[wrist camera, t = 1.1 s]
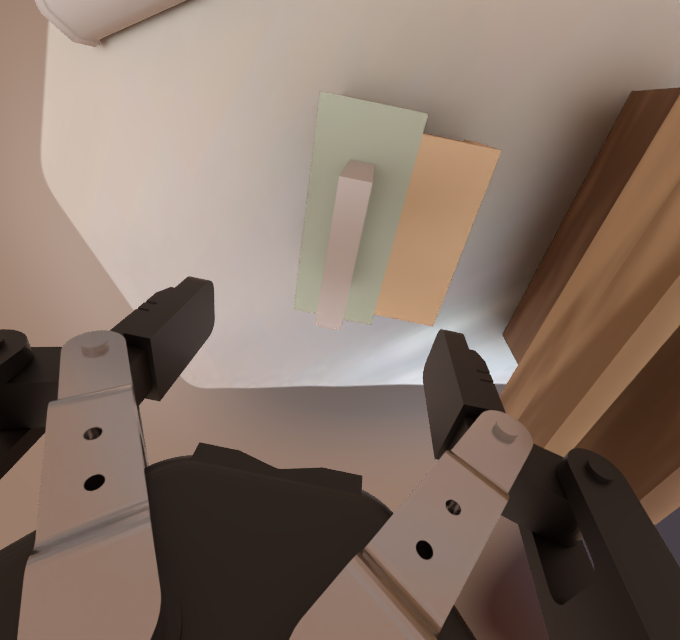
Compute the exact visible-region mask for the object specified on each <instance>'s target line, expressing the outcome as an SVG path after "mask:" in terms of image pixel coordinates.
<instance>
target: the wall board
mask: <svg viewBox="0 0 680 640" xmlns="http://www.w3.org/2000/svg"><path fill="white" fill-rule="evenodd" d="M503 337H504V339H505V341H506V343H507V344H508V346H509V348H510V350H511V352H512V354H513V356H514V358H515V360H516V361H517V363H518V366H517V368H516V370H515V371H514V373H513V375H512V376H511V378H510V380H509V381H508V383H507V385H506V387H505V388H504V390H503V392H502V393H501V395H500V396H499V397H500V399H501V402H502V404H503V407H504V409H505V412H506V414H508V415H510V416H512V417H514V418H515V419H517V420H518V421H519V422H520V423H522V424H523V425H524V426H525V427H526V429H527V430H528V431H529V433H530V435H531V437H532V440H533V443H534V444H536V445H538V446H540V447H542V448H544V449H546V450H549V451H551V452H553V453H555V454H558V455H560V456H562V457H565V456H566V454H567V453H568V452H569V451H570V450H571V449H574V448H583V449H587V450H590V451H593V452H595V453H597V454H599V455H601V456H602V457H604V458H605V459H607V460H608V461H610V462H611V463H612V464H613V465H614V466H616V467H617V468H618V469H619V471H620V472H621V473H622V474H623V475H624V477H625V478H626V480H627V481H628V483H629V484H630V486H631V488H632V489H633V491H634V493H635V494H636V496H637V498H638V499H639V501H640V503H641V504H642V506H643V508H644V509H645V511H646V513H647V514H648V516H649V518H650V519H651V521H652V523H653V524H654V525H656V524H657V523H658V522H660V521H661V520H662V519H664V518H665V517H666V516H668V515H669V514H670V513H672V512H673V511H674V510H675V509H677V508H678V507H679V506H680V88H669V89H655V90H642V91H632V92H631V94H630V96H629V98H628V100H627V102H626V104H625V105H624V107H623V109H622V111H621V113H620V115H619V117H618V119H617V120H616V122H615V124H614V126H613V128H612V130H611V132H610V134H609V135H608V137H607V139H606V141H605V143H604V145H603V147H602V149H601V151H600V152H599V154H598V156H597V158H596V160H595V162H594V164H593V166H592V167H591V169H590V171H589V173H588V175H587V177H586V179H585V181H584V182H583V184H582V186H581V188H580V190H579V192H578V194H577V196H576V198H575V199H574V201H573V203H572V205H571V207H570V209H569V211H568V213H567V214H566V216H565V218H564V220H563V222H562V224H561V226H560V228H559V229H558V231H557V233H556V235H555V237H554V239H553V241H552V243H551V245H550V246H549V248H548V250H547V252H546V254H545V256H544V258H543V260H542V261H541V263H540V265H539V267H538V269H537V271H536V273H535V275H534V276H533V278H532V280H531V282H530V284H529V286H528V288H527V290H526V292H525V293H524V295H523V297H522V299H521V301H520V303H519V305H518V307H517V308H516V310H515V312H514V314H513V316H512V318H511V320H510V322H509V323H508V325H507V327H506V329H505V331H504V333H503Z"/></svg>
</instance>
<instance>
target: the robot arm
mask: <svg viewBox="0 0 680 640" xmlns="http://www.w3.org/2000/svg"><path fill="white" fill-rule="evenodd" d="M214 320H215V315H214V286H213V283H212V281H209V280H204V279H199V278H195V277H187V278H186V279H185V280H183V281H182V282H181V283H180V284H179V285H178V286H177V287H175V288H173V287H170V288H167V289H164V290H162V291H159V292H157V293H155V294H154V295H153V296H152V297H150V298H149V299H148V300H147V301H146V303H145V302H144V303H143V304H142V305H141V306H139V307H138V309H136V310H134V311H133V312H132V313H131V314H130V315H128V316H127V317H126V318H125V319H123V320H122V321H121V322H120V323H118V324H117V325H116V326H115V327H114V328H112V329H111V330H110V331H92V332H87V333H83V334H81V335H78V336H76V337H74V338H72V339H70V340H69V341H67V342H66V343H65V344H64V345H63V347H30V344H29V342H28V339H27V337H26V335H25V334H23V333H22V332H19V331H15V330H3V329H2V330H0V479H1V478H2V477H3V476H4V475H5V474H6V473H7V472H8V471H9V470H10V469H11V468H12V467H13V466H14V465H15V464H16V462H17V461H18V460H19V459H20V458H21V457H22V456H23V455H24V454H25V453H26V452H27V451H28V450H29V449H30V448H31V447H32V446H33V445H34V444H35V443H36V442H37V440H38V439H39V438H40V437H41V436H42V435H43V434H44V433H45V442H44V443H45V444H44V452H43V453H44V454H43V463H42V475H41V485H40V497H39V507H38V517H37V529H36V530H35V531H33V532H31V533H30V534H28V535H26V536H24V537H23V538H21V539H19V540H17V541H16V542H14V543H12V544H10V545H9V546H7V547H5V548H4V549H2V550H0V640H477V639H476V638H475V636H474V635H473V633H472V632H471V630H470V629H469V627H468V626H467V624H466V622H465V621H464V619H463V618H462V616H461V615H460V613H459V612H458V610H457V608H456V607H455V605H454V603H455V601H456V599H457V597H458V595H459V593H460V592H461V590H462V588H463V586H464V584H465V582H466V580H467V578H468V576H469V574H470V573H471V571H472V569H473V567H474V565H475V563H476V561H477V559H478V557H479V555H480V553H481V552H482V550H483V548H484V546H485V544H486V542H487V540H488V538H489V536H490V534H491V532H492V530H493V529H494V527H495V525H496V523H497V521H498V519H499V517H500V515H502V516H504V517H506V518H508V519H509V520H511V521H513V522H515V523H517V524H518V525H519V529H520V533H521V536H522V540H523V544H524V547H525V551H526V555H527V558H528V562H529V566H530V569H531V573H532V577H533V580H534V584H535V587H536V591H537V595H538V599H539V602H540V605H541V610H542V613H543V617H544V620H545V624H546V628H547V632H548V635H549V639H550V640H680V568H679V566H678V564H677V562H676V561H675V559H674V557H673V556H672V554H671V553H670V551H669V549H668V548H667V546H666V544H665V543H664V541H663V539H662V538H661V536H660V534H659V533H658V531H657V529H656V528H655V526H654V524H653V523H652V521H651V519H650V518H649V516H648V514H647V513H646V511H645V509H644V508H643V506H642V504H641V503H640V501H639V499H638V498H637V496H636V494H635V493H634V491H633V489H632V488H631V486H630V484H629V483H628V481H627V480H626V478H625V477H624V475H623V474H622V473H621V472H620V471H619V469H618V468H617V467H616V466H614V465H613V464H612V463H611V462H610V461H608V460H607V459H605V458H604V457H602V456H601V455H599V454H597V453H595V452H593V451H590V450H587V449H583V448H574V449H571V450H570V451H569V452H568V453H567V454H566V456H565V457H562V456H560V455H558V454H555V453H553V452H551V451H549V450H546V449H544V448H542V447H540V446H538V445H536V444H534V443H533V440H532V437H531V435H530V433H529V431H528V430H527V429H526V427H525V426H524V425H523V424H522V423H520V422H519V421H518V420H517V419H515V418H514V417H512V416H510V415H508V414H506V412H505V409H504V407H503V404H502V402H501V399H500V397H499V394H498V392H497V390H496V387H495V385H494V384H493V380H492V377H491V375H489V373H490V372H489V370H488V367H487V365H486V362H485V361H484V360H483V359H482V358H481V356H480V355H479V354H478V353H477V352H476V351H474V350H469V348H468V345H467V342H466V340H465V337H464V335H463V334H462V333H457V332H452V331H447V330H443V329H441V330H440V331H439V332H438V334H437V336H436V338H435V341H434V343H433V346H432V348H431V351H430V353H429V356H428V358H427V361H426V363H425V366H424V371H423V384H424V391H425V397H426V404H427V410H428V417H429V424H430V430H431V437H432V444H433V450H434V457H435V459H438V461H437V463H436V464H435V465H434V466H433V467H432V469H431V470H430V471H429V472H428V473H427V474H426V476H425V477H424V478H423V479H422V480H421V482H420V483H419V484H418V485H417V486H416V488H415V489H414V490H413V491H412V492H411V494H410V495H409V496H408V497H407V498H406V500H405V501H404V502H403V503H402V504H401V505H400V507H399V508H398V509H397V510H396V511H395V513H393V512H392V511H391V510H390V509H389V508H388V507H387V506H386V505H385V504H383V503H382V502H381V501H380V500H378V499H377V498H375V497H374V496H372V495H371V494H369V493H368V492H366V491H364V490H362V476H361V475H356V474H351V473H346V472H341V471H336V470H331V469H327V468H301V469H300V468H299V469H277V468H274V467H272V466H270V465H268V464H266V463H264V462H262V461H260V460H258V459H256V458H254V457H252V456H250V455H247V454H246V453H243V452H241V451H239V450H234V449H229V448H224V447H219V446H214V445H209V444H205V443H199V445H198V446H197V448H196V450H195V452H194V454H193V455H188V456H180V457H175V458H171V459H166V460H163V461H160V462H158V463H155V464H152V465H150V466H149V463H148V457H147V452H146V445H145V439H144V433H143V427H142V421H141V414H140V408H139V405H140V404H141V402H142V401H143V400H144V398H146V399H151V400H156V401H160V400H161V399H162V398H163V397H164V395H165V394H166V393H167V391H168V390H169V389H170V387H171V386H172V384H173V383H174V382H175V381H176V379H177V378H178V377H179V376H180V374H181V373H182V372H183V370H184V369H185V368H186V366H187V365H188V364H189V362H190V361H191V360H192V358H193V357H194V356H195V354H196V353H197V352H198V351H199V349H200V348H201V347H202V345H203V344H204V343H205V341H206V340H207V339H208V337H209V336H210V334H211V332H212V330H213V326H214ZM582 538H584V540H585V543H586V545H587V547H588V550H589V552H590V554H591V557H592V560H593V563H594V569H595V571H594V569H593V567H592V564H591V562H590V559H589V557H588V555H587V552H586V550H585V547H584V545H583V542H582V540H581V539H582Z"/></svg>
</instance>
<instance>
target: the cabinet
mask: <svg viewBox="0 0 680 640" xmlns="http://www.w3.org/2000/svg"><path fill="white" fill-rule="evenodd" d="M427 117H428V113H423V112H418V111H413V110H409V109H404V108H399V107H394V106H390V105H385V104H380V103H375V102H371V101H366V100H361V99H356V98H351V97H347V96H342V95H337V94H332V93H328V92H323V91H320V95H319V103H318V112H317V120H316V129H315V137H314V145H313V154H312V162H311V170H310V179H309V187H308V195H307V204H306V212H305V220H304V229H303V237H302V245H301V254H300V262H299V270H298V279H297V287H296V295H295V304H294V309H295V310H300V311H305V312H310V313H315V314H317V315H316V321H315V325H317V326H322V327H327V328H332V329H336V330H341V327H342V323H343V319H344V320H349V321H353V322H358V323H363V324H368V325H371V323H372V320H373V316H374V314H376V315H380V316H385V317H390V318H395V319H400V320H404V321H409V322H414V323H419V324H424V325H429V326H433V325H434V323H435V320H436V317H437V315H438V312H439V310H440V307H441V305H442V302H443V299H444V297H445V294H446V292H447V289H448V287H449V284H450V281H451V279H452V276H453V274H454V271H455V269H456V266H457V264H458V261H459V258H460V256H461V253H462V251H463V248H464V246H465V243H466V240H467V238H468V235H469V233H470V230H471V228H472V225H473V223H474V220H475V217H476V215H477V212H478V210H479V207H480V205H481V202H482V199H483V197H484V194H485V192H486V189H487V187H488V184H489V182H490V179H491V176H492V174H493V171H494V169H495V166H496V164H497V161H498V158H499V156H500V153H501V150H498V149H495V148H492V147H489V146H486V145H483V144H481V143H477V142H473V141H468V140H464V141H463V142H462V141H457V140H453V139H448V138H443V137H438V136H434V135H429V134H424V133H423V131H424V128H425V124H426V120H427Z"/></svg>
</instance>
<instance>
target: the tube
mask: <svg viewBox="0 0 680 640" xmlns="http://www.w3.org/2000/svg"><path fill="white" fill-rule="evenodd" d="M34 1H35V3H36V5H37V7H38V8H39V10H40V12H41V14H42V15H43V16H45V17H46V18H47V19H48V20H49V21H50V22H51V23H52V24H54V25H55V26H56V27H57V28H58V29H59V30H60V31H62V32H63V33H64V34H65V35H66V36H67V37H68V38H70V39H71V40H72V41H73V42H76V43H81V44H85V45H89V46H94V47H96V46H98V45H100V42H99V40H100V39H102V38H104V37H106V36H108V35H111V34H113V33H115V32H117V31H120V30H122V29H124V28H126V27H129V26H131V25H133V24H135V23H137V22H140V21H142V20H144V19H146V18H149V17H151V16H153V15H155V14H157V13H160V12H162V11H164V10H166V9H169V8H171V7H173V6H175V5H177V4H180V3H182V2H184V1H186V0H34Z"/></svg>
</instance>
